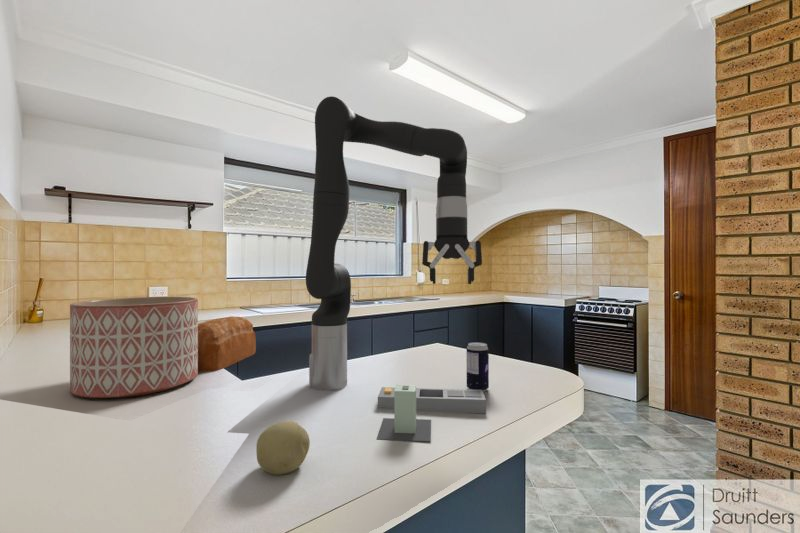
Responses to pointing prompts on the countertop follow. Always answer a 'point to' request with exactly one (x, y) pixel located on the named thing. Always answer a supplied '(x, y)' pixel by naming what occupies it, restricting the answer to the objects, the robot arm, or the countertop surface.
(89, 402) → the countertop surface
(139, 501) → the countertop surface
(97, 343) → the planter
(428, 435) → the mat
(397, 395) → the block
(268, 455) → the potato
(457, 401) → the strip
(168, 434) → the countertop surface
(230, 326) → the bread
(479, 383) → the beverage can
